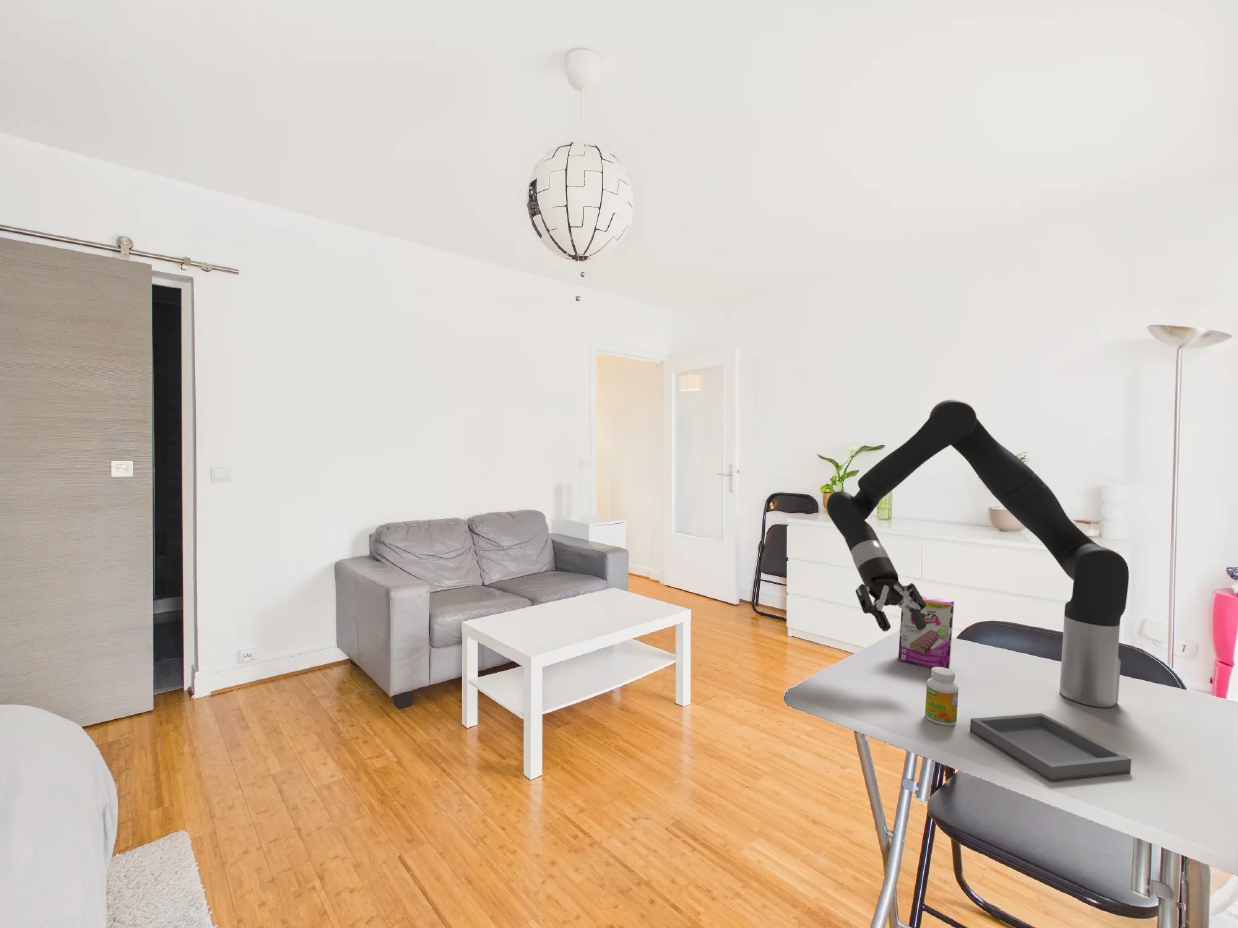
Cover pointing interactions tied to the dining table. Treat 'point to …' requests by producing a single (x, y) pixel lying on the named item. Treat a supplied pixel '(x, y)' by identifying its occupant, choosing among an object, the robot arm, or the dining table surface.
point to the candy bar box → (928, 634)
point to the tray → (1050, 747)
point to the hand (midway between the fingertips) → (905, 629)
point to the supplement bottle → (941, 697)
